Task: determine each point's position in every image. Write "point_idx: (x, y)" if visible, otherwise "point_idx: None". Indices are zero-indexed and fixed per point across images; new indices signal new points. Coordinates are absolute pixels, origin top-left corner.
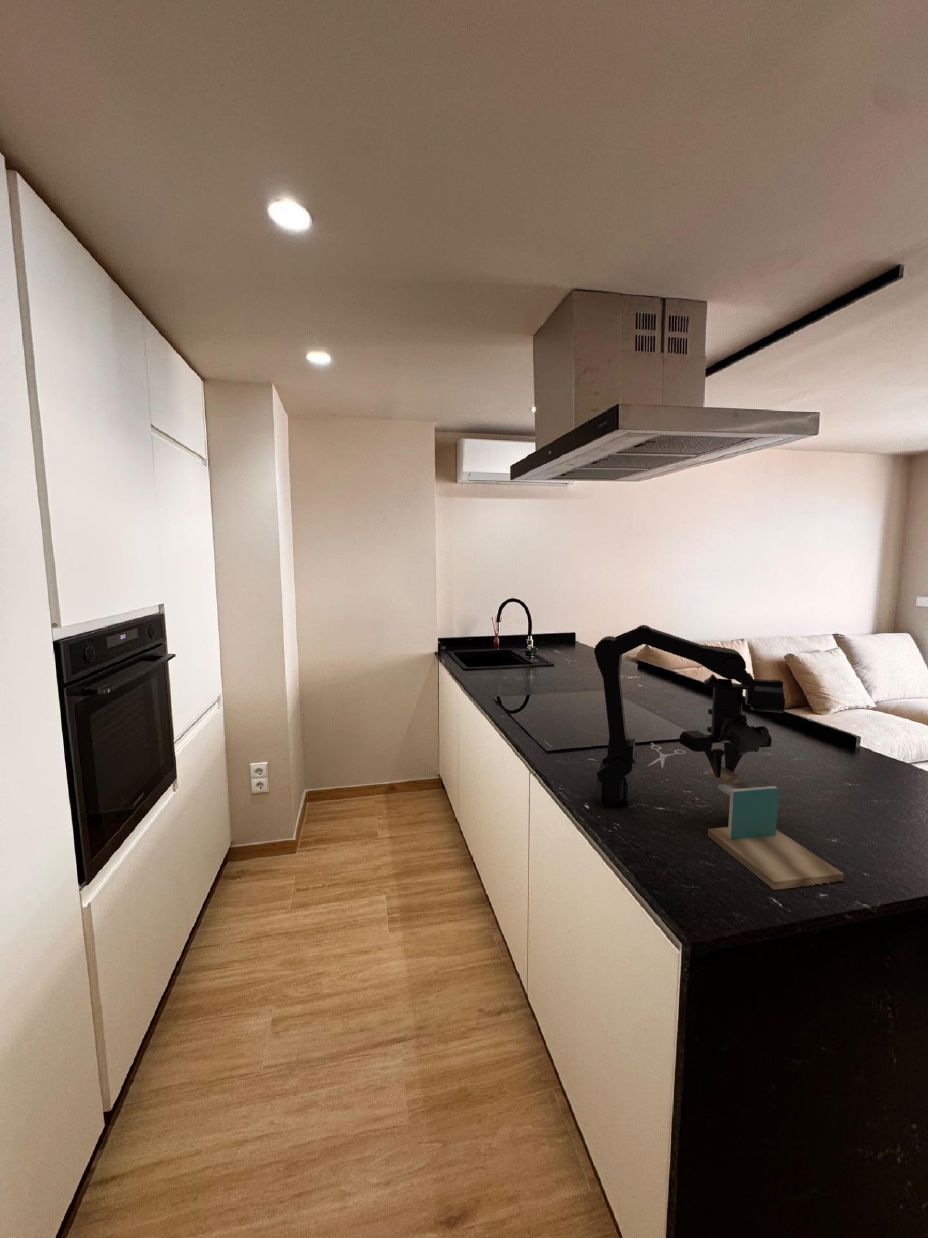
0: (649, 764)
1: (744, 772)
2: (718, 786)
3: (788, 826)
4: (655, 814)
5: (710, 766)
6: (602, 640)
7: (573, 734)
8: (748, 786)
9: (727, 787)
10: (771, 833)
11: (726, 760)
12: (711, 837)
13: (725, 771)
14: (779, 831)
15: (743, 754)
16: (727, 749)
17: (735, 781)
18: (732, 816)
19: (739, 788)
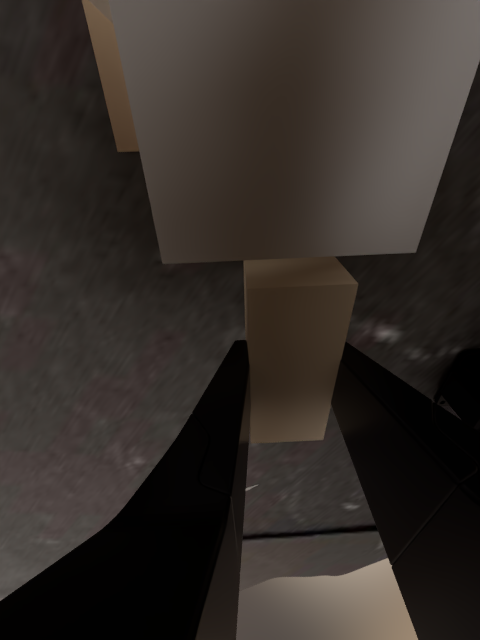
0: (248, 489)
1: (37, 456)
2: (412, 243)
3: (21, 167)
4: (431, 304)
5: (321, 431)
6: None
7: (311, 559)
8: (202, 183)
9: (398, 189)
10: None
11: (245, 463)
12: None
13: (298, 362)
14: (95, 53)
15: (106, 530)
16: (234, 596)
17: (268, 264)
18: None
19: (311, 154)
